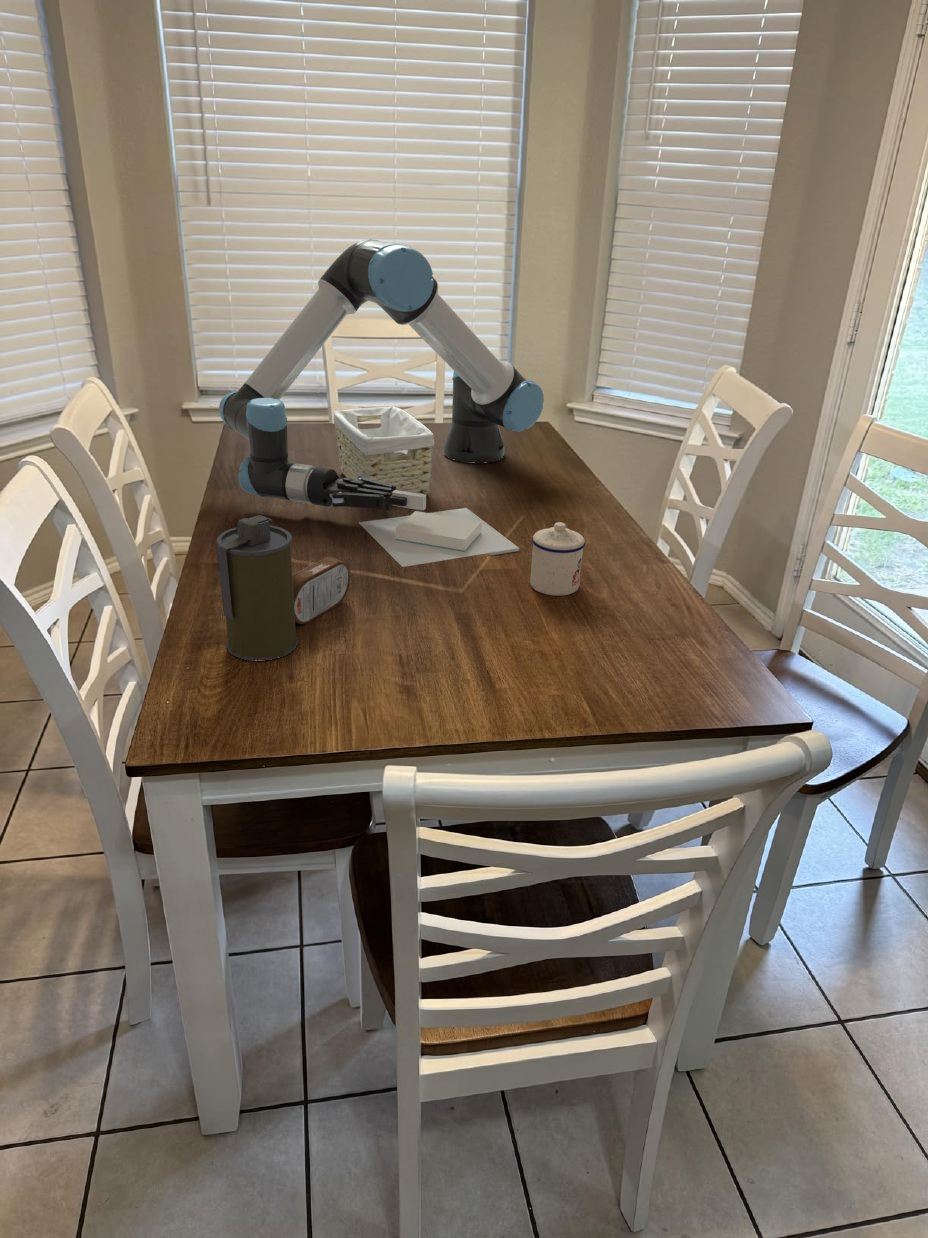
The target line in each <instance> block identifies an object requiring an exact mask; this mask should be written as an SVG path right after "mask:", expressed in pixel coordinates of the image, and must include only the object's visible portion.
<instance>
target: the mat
mask: <svg viewBox="0 0 928 1238" xmlns="http://www.w3.org/2000/svg"><path fill="white" fill-rule="evenodd" d="M430 513H431V514H437V515H444V516H450V517H456V518H462V519H468V520H475V521H481V522H482V529H481V534H480V536H479V537H478V538H477V539H476V540H475V541H474V542H473V543H472V544H471V546H470V547H469V548H468V549H467V550H466V551H465V552H462V551H456V550H450V549H444V548H438V547H433V546H427V545H421V544H415V543H409V542H404V541H398V540H396V527H398V526H399V525H400V524H401V523H402V522H403V521H404V520H406V519H407V518H408V517H409V516H410V515H405V516H397V517H390V518H381V519H374V520H367V521H362V522H361V521H359V522H358V524H359V525H360V526H361V527H362V528H363V529H364V530H365V531H366V532H367V533H368V534H369V535H370V536H371V537H372V538H373V539H374V540H375V541H376V542H377V543H378V544H379V545H380V546H381V547H382V549H384V550H385V552H386V553H388V555H390V556H391V557H392V558H393V560H395V561H396V563H398V564H399V566H401V567H402V568H406V567H411V566H418V565H425V564H431V563H435V562H436V563H437V562H443V561H449V560H455V559H460V558H467V557H473V556H479V555H480V556H481V555H484V554H486V555H487V554H488V555H487V556H489V557H490V556H496V555H501V554H508V553H514V552H520V547H518V546H517V545H516V544H515V543H513V542H512V541H510V540H509V539H508V538H507V537H505V536H504V535H503V534H502V533H500V532H499V531H497V530H496V529H495V528H493V527H492V526H491V525H489V524H488V523H487V522H486V521H484V520H483V519H481V517H479V516H478V515H476V514H475V513H474V512H473V511H471V510H470V509H468V508H467V507H463V508H456V509H448V510H442V511H440V510H439V511H431V512H430Z"/></svg>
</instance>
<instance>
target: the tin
mask: <svg viewBox="0 0 928 1238" xmlns="http://www.w3.org/2000/svg"><path fill="white" fill-rule="evenodd" d="M292 577H293V594H294V612H295V624H298V625H305V624H308V623H310V622H312V621H314V620H315V619H317V618H319V617H320V616H323V615H324V614H326V613H328V612H329V611H331V610H332V609H334V608H336V607H337V606H339V604H341V603H342V601H343V600H344V598H345V597H346V596H347V594H348V592H349V588H350V580H351V569H350V565H348V564H347V563H346V562H345V561H343V560H340V559H338V558H336V557H334V556H326V557H324V558H322V559H320V560H318V561H317V562H314V563H312V564H310V565H309V566H307V567H304V568H302V569H300V570H299V571H296V572H294V573H292Z"/></svg>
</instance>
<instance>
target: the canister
mask: <svg viewBox="0 0 928 1238" xmlns="http://www.w3.org/2000/svg"><path fill="white" fill-rule="evenodd" d="M272 522H273V519H272V518H269V517H267V516H264V515H262V514H259V515H255V516H252V517H251V516H250V517H249V518H247V517H245V518H241V519H239V520H237V526H236V527H232V528H229V529H227V530H225V531H223V532H222V533H221V534H219V536H218V537H217V538H216V550H217V551H216V552H217V561H218V570H219V571H218V572H219V581H220V591H221V601H222V612H223V617H225V622H226V623H225V624H226V633H227V643H226V647H227V648H226V649H227V651H228V653H229V654H230V655H232V654H233V655H234V656H236V657H239V658H242V659H244V660H243V661H245V660H254V661H255V660H257V661H258V660H270V659H276V658H278V657H282V658H284V657H286V656H285V655H286V654H289V653H290V654H291V653H293V652H294V651H295V650H296V649H297V647H298V644H299V639H298V636H297V634H296V633H297V631H296V623H295V612H294V594H293V577H292V575H293V564H292V563H293V562H292V547H291V545H292V541H293V536H292V534H291V533H290V532H289V531H288V530H286V529H285V528H282V527H279V526H274V525H271V524H270V523H272ZM296 646H297V647H296ZM295 648H296V649H295ZM293 650H294V651H293ZM292 651H293V652H292ZM290 654H289V655H290ZM233 655H232V656H233ZM234 656H233V657H234ZM283 656H284V657H283ZM236 657H235V658H236ZM239 658H238V659H239ZM242 659H241V660H242ZM276 660H277V659H276Z"/></svg>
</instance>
